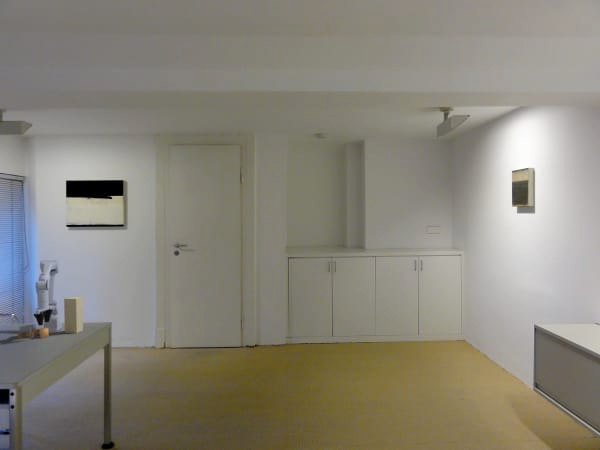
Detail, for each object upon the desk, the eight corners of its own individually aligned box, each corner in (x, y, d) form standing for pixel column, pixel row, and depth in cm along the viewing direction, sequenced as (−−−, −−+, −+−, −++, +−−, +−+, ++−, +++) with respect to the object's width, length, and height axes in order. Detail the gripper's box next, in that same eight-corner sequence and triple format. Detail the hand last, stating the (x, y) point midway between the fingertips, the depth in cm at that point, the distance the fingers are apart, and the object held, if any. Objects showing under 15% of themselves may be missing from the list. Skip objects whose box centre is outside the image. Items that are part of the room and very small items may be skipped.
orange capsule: (50, 336, 258) (49, 327, 258) (46, 338, 253) (46, 329, 253) (42, 336, 257) (42, 328, 257) (38, 338, 253) (38, 329, 253)
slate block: (35, 329, 261) (35, 323, 261) (30, 332, 255) (30, 326, 255) (25, 330, 261) (25, 324, 261) (19, 332, 255) (19, 326, 255)
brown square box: (39, 334, 263) (38, 328, 263) (32, 338, 255) (32, 332, 255) (25, 335, 262) (25, 329, 262) (17, 339, 254) (17, 333, 254)
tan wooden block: (84, 330, 270) (83, 296, 269) (77, 333, 262) (75, 298, 262) (72, 330, 270) (71, 296, 270) (64, 333, 263) (63, 298, 263)
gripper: (42, 298, 262) (43, 321, 262) (29, 303, 247) (30, 327, 248) (54, 298, 262) (55, 320, 263) (42, 302, 248) (43, 326, 248)
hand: (43, 323), depth 255 cm, fingers open, 7 cm apart
